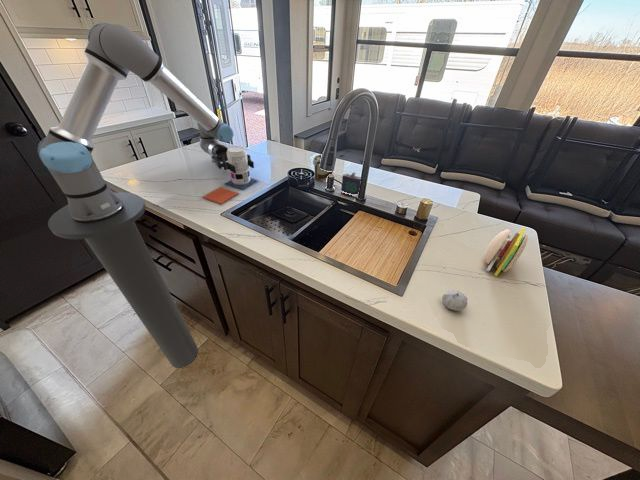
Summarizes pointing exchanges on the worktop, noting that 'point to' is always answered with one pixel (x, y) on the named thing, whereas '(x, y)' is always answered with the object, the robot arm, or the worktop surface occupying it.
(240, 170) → the supplement can
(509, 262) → the hamburger
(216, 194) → the terracotta pad
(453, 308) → the garlic
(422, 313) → the worktop surface
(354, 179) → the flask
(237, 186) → the slate pad
